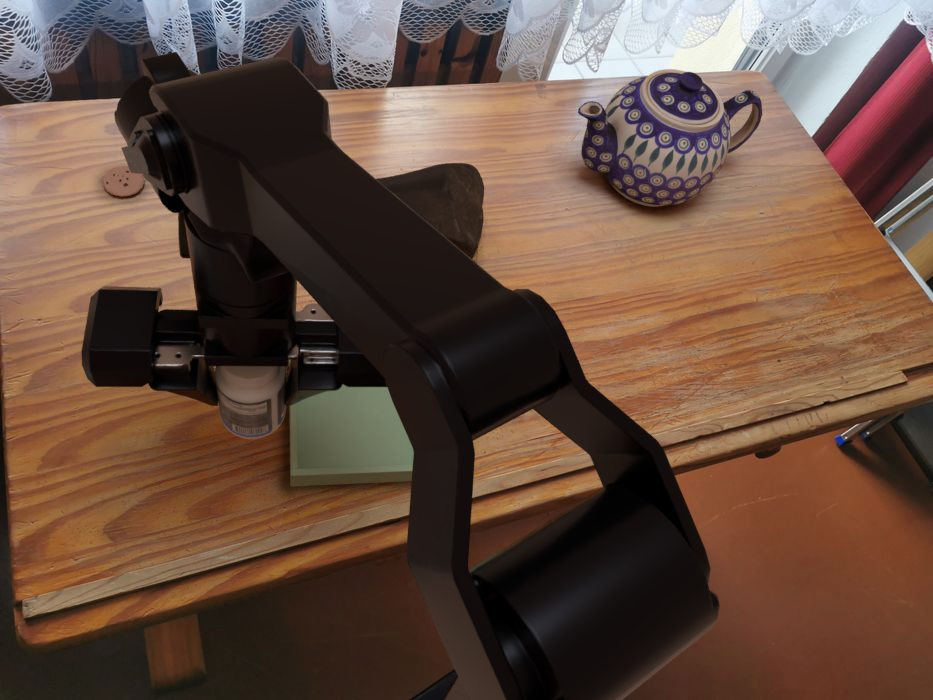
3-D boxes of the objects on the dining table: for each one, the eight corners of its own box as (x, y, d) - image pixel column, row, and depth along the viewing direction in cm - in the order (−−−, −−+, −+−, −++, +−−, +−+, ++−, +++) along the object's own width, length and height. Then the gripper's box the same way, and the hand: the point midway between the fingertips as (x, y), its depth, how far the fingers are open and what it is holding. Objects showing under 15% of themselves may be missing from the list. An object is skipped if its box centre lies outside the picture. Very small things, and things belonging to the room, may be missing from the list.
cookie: (100, 197, 77) (99, 190, 76) (105, 167, 79) (103, 160, 78) (143, 199, 78) (141, 192, 77) (146, 170, 80) (145, 162, 79)
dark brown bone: (476, 240, 87) (217, 244, 83) (480, 146, 81) (204, 145, 78) (491, 280, 77) (200, 287, 74) (497, 177, 72) (183, 178, 69)
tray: (433, 480, 68) (437, 470, 66) (290, 486, 65) (290, 475, 63) (419, 361, 74) (423, 348, 72) (288, 361, 71) (289, 348, 69)
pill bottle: (253, 373, 60) (250, 310, 53) (299, 410, 59) (302, 351, 52) (205, 413, 57) (196, 353, 50) (252, 453, 56) (249, 397, 49)
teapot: (704, 130, 102) (762, 33, 90) (752, 216, 95) (823, 124, 83) (529, 135, 95) (567, 29, 82) (567, 229, 88) (615, 129, 75)
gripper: (401, 172, 50) (375, 311, 63) (84, 151, 45) (126, 305, 58) (414, 315, 44) (383, 436, 57) (53, 307, 40) (108, 440, 53)
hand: (252, 399), depth 56 cm, fingers closed on pill bottle, 5 cm apart
